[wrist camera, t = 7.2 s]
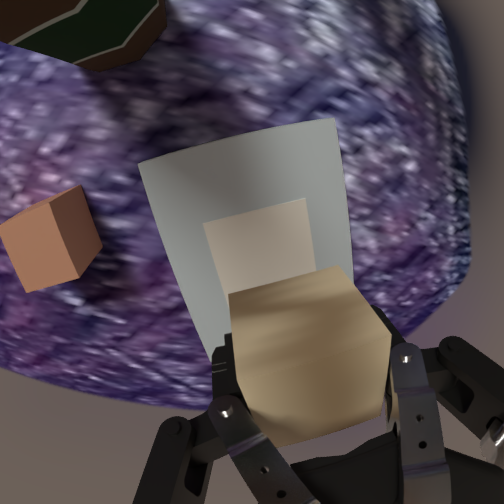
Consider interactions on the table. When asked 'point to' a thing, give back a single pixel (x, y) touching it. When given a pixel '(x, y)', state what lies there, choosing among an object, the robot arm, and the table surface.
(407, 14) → the table surface
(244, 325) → the maple block
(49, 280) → the terracotta block
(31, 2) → the beer bottle
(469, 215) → the table surface
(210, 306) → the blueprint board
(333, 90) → the table surface
